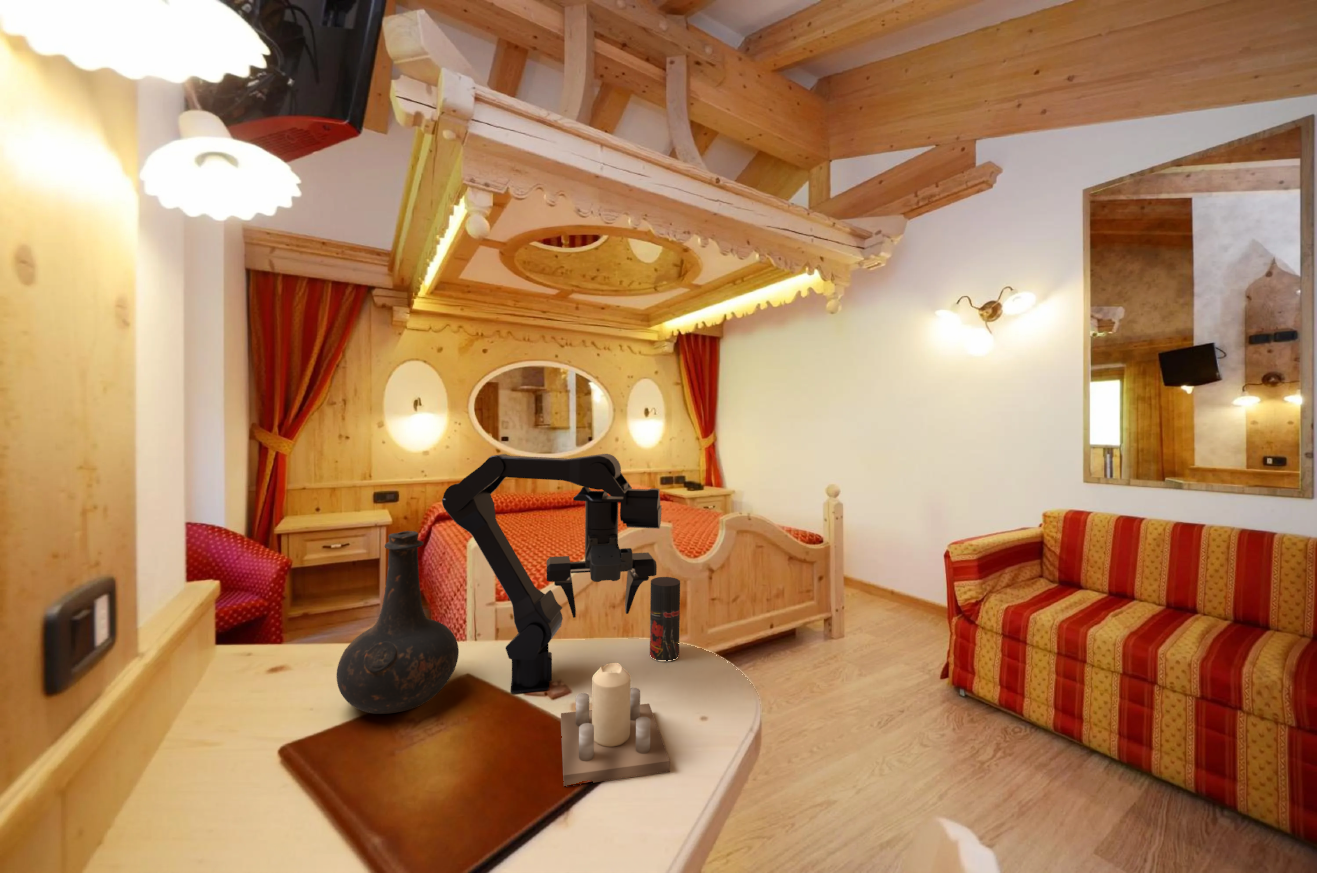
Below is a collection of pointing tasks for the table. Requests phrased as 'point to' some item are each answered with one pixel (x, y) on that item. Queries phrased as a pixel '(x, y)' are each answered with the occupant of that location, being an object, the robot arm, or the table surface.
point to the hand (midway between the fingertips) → (600, 615)
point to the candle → (611, 705)
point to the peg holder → (615, 762)
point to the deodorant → (664, 618)
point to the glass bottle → (398, 643)
